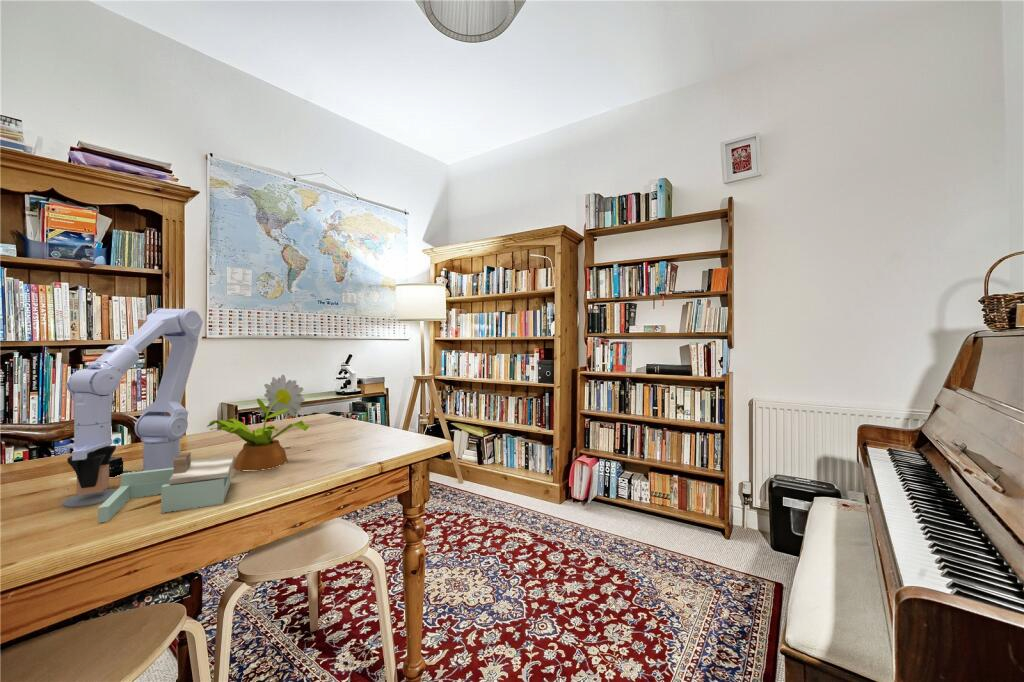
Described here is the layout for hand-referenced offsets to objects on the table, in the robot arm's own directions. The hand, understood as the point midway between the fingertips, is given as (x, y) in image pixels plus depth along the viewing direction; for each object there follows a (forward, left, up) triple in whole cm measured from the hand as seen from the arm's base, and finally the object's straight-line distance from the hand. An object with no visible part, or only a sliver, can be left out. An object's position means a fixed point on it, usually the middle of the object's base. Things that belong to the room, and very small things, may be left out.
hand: (92, 483), depth 90 cm
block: (0, 0, -2) cm, 2 cm away
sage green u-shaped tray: (+9, +15, -3) cm, 18 cm away
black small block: (-20, -3, -4) cm, 20 cm away
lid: (+9, +21, +2) cm, 23 cm away
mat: (0, 0, -3) cm, 3 cm away
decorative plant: (-12, +30, -4) cm, 33 cm away
